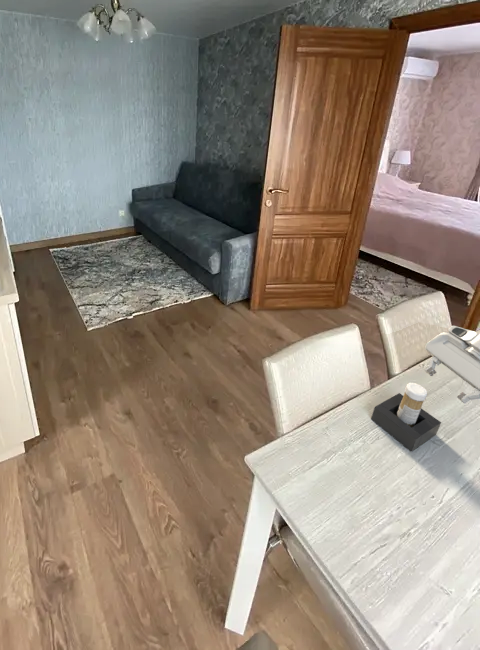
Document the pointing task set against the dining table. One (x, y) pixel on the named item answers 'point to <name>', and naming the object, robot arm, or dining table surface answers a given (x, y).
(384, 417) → the socket block
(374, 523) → the dining table surface
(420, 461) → the dining table surface
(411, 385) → the sprinkles bottle
